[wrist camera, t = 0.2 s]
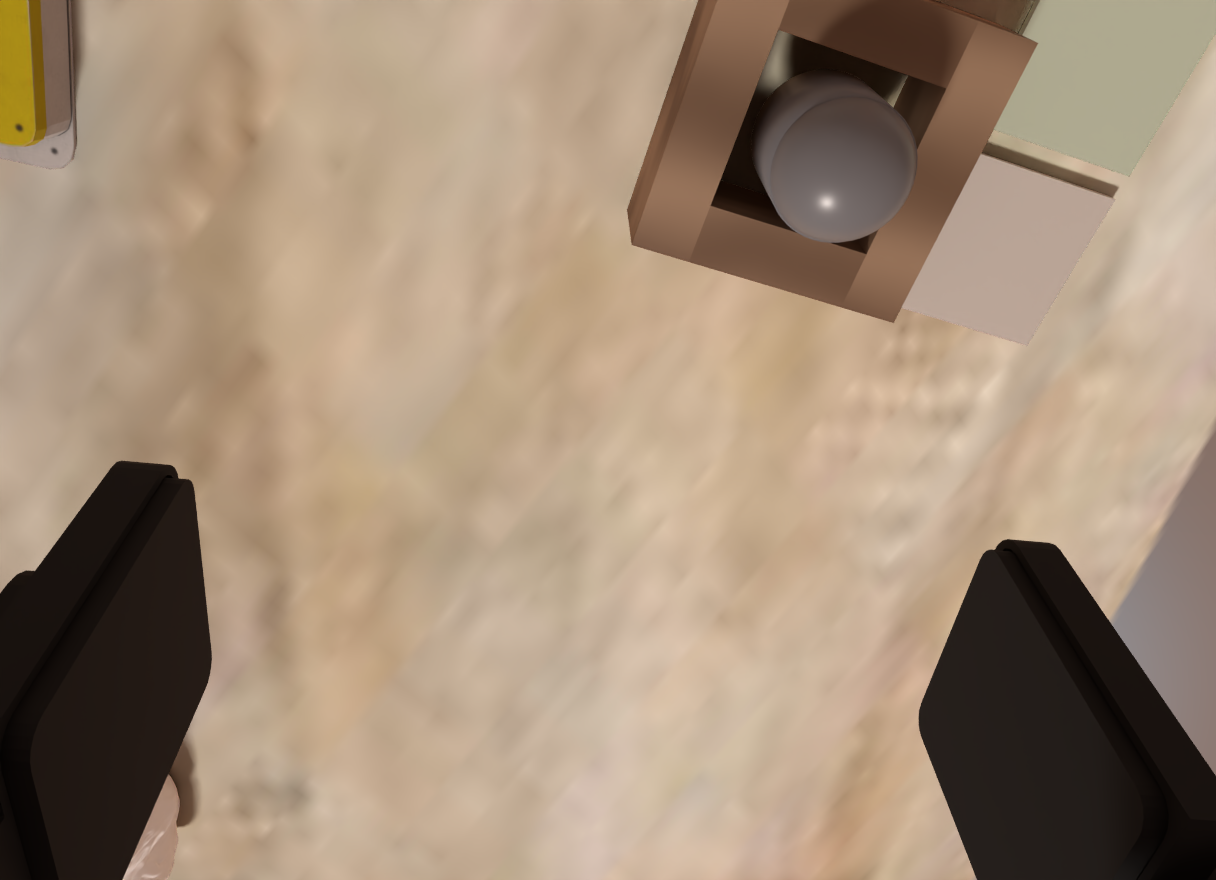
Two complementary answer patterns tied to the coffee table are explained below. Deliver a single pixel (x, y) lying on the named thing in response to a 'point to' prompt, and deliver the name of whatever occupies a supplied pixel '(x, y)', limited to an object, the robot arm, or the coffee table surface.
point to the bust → (157, 839)
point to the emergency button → (37, 83)
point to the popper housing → (747, 220)
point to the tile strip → (1069, 124)
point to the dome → (833, 156)
